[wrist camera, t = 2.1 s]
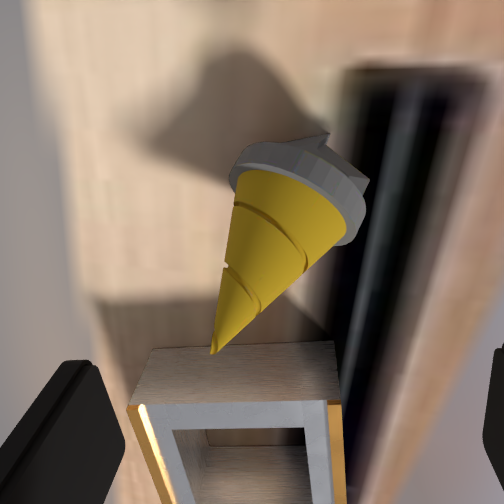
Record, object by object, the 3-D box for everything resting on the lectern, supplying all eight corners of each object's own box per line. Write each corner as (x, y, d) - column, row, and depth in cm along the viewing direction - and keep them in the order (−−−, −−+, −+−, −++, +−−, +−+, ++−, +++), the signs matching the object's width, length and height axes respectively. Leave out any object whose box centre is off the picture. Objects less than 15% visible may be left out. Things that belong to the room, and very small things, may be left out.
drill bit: (390, 187, 19) (291, 400, 16) (283, 156, 21) (178, 339, 18) (399, 99, 14) (263, 378, 11) (260, 70, 16) (114, 300, 13)
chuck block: (152, 348, 24) (126, 410, 20) (333, 340, 23) (341, 404, 19) (189, 464, 29) (172, 531, 25) (341, 463, 27) (348, 535, 23)
